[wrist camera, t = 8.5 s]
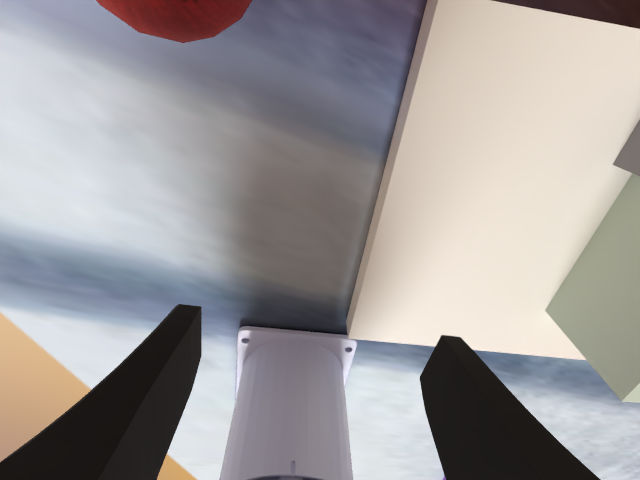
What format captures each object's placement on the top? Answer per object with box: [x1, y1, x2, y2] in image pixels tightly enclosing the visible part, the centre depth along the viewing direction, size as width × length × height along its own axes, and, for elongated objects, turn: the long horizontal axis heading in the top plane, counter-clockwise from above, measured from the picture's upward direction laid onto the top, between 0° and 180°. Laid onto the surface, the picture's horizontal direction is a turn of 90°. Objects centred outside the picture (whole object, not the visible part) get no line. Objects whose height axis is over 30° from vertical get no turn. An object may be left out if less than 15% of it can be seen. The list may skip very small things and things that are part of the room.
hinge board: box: [346, 0, 640, 360], centre depth 17 cm, size 18×17×5 cm
